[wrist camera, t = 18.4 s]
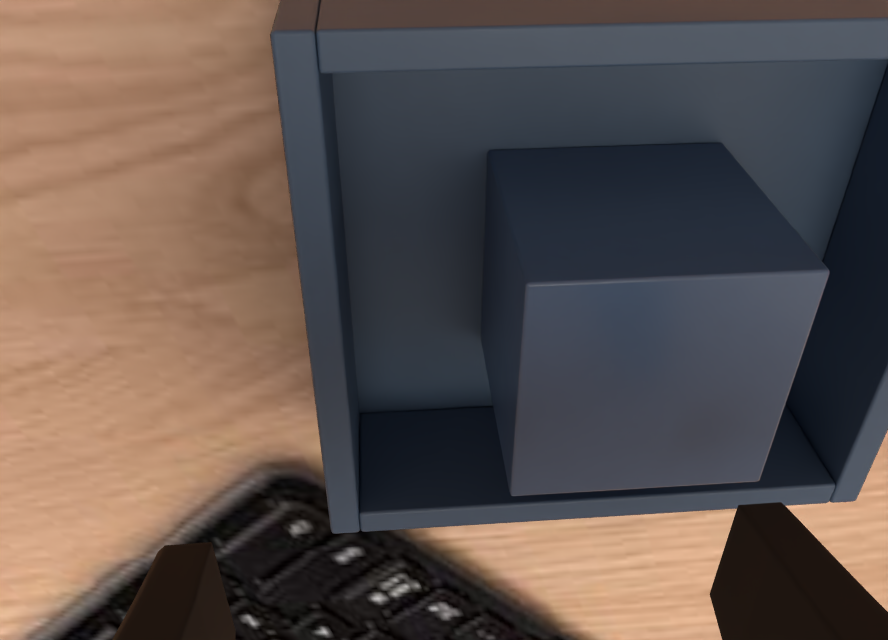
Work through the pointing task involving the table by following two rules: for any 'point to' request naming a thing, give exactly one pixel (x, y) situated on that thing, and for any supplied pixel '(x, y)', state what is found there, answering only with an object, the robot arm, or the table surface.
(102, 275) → the table surface
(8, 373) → the table surface
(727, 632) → the robot arm
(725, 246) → the blue block
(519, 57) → the blue bin
